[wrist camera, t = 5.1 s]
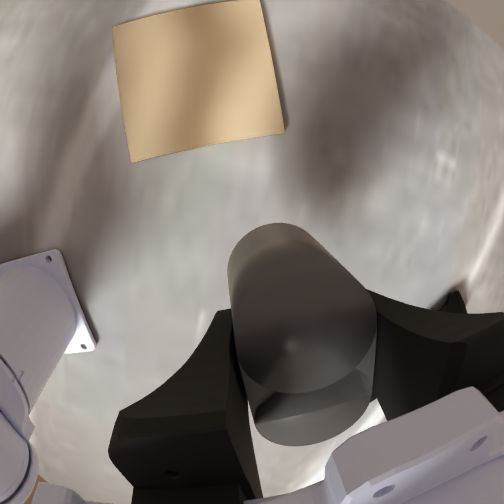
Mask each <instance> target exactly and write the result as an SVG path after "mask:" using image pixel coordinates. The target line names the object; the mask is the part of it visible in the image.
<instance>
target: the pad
mask: <svg viewBox="0 0 504 504" xmlns="http://www.w3.org/2000/svg"><path fill="white" fill-rule="evenodd" d="M112 32H113V43H114V53H115V63H116V71H117V79H118V87H119V94H120V101H121V108H122V114H123V120H124V126H125V132H126V138H127V143H128V149H129V154H130V159H131V163H134V162H137V161H141V160H145V159H149V158H153V157H158V156H162V155H166V154H171V153H175V152H179V151H184V150H189V149H194V148H198V147H203V146H209V145H214V144H219V143H225V142H230V141H236V140H242V139H248V138H255V137H261V136H268V135H275V134H283V133H285V130H284V124H283V118H282V112H281V106H280V100H279V94H278V89H277V83H276V78H275V72H274V67H273V62H272V57H271V52H270V47H269V42H268V37H267V32H266V27H265V22H264V18H263V13H262V9H261V4H260V0H237V1H228V2H220V3H213V4H207V5H200V6H195V7H189V8H184V9H179V10H174V11H169V12H165V13H161V14H157V15H153V16H149V17H145V18H141V19H138V20H134V21H131V22H127V23H124V24H121V25H118V26H114V27H112Z"/></svg>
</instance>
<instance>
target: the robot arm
mask: <svg viewBox="0 0 504 504" xmlns="http://www.w3.org/2000/svg"><path fill="white" fill-rule="evenodd" d="M48 256H50V257H51V258H52V261H50V260H49V258H48ZM366 290H367V289H366ZM367 291H368V292H369V294H370V296H371V297H372V299H373V301H374V304H375V307H376V312H377V336H376V352H375V365H374V376H373V386H372V389H373V391H374V393H375V395H376V397H377V399H378V401H379V404H380V406H381V408H382V410H383V412H384V415H385V417H386V419H387V422H384V423H381V424H379V425H376V426H373V427H370V428H368V429H366V430H364V431H362V432H360V433H358V434H356V435H354V436H352V437H350V438H349V439H347V440H346V441H345V442H344V443H342V444H341V445H340V446H339V447H338V448H336V449H335V450H334V451H333V452H332V454H331V456H330V458H329V460H328V462H327V464H326V466H325V479H324V480H322V481H320V482H317V483H315V484H312V485H310V486H307V487H305V488H302V489H299V490H297V491H294V492H291V493H288V494H283V495H278V496H273V497H267V498H263V495H262V490H261V485H260V480H259V475H258V470H257V464H256V459H255V454H254V448H253V443H252V437H251V431H250V425H249V415H248V397H247V393H246V390H245V386H244V382H243V378H242V374H241V370H240V366H239V362H238V358H237V353H236V346H235V338H234V329H233V320H232V311H231V309H226V310H220V311H217V313H216V314H215V316H214V318H213V320H212V322H211V324H210V326H209V328H208V330H207V332H206V334H205V335H204V337H203V339H202V341H201V342H200V344H199V345H198V347H197V348H196V349H195V351H194V352H193V354H192V355H191V356H190V358H189V359H188V360H187V361H186V363H185V364H184V365H183V366H182V367H181V368H180V369H179V370H178V371H177V372H176V373H175V374H174V375H173V376H172V377H170V378H169V379H168V380H167V381H166V382H165V383H164V384H162V385H161V386H160V387H159V388H157V389H156V390H155V391H153V392H152V393H150V394H149V395H147V396H146V397H144V398H143V399H141V400H139V401H137V402H136V403H134V404H132V405H130V406H128V407H127V408H125V409H123V410H121V411H120V412H119V414H118V417H117V419H116V422H115V425H114V429H113V432H112V436H111V440H110V444H109V448H108V453H109V458H110V459H111V461H112V463H113V464H114V465H115V467H116V468H117V469H118V470H119V471H120V472H121V473H122V475H123V476H124V477H125V478H126V479H127V480H128V481H129V482H130V483H131V485H132V486H133V487H134V488H133V495H132V503H131V504H504V313H503V312H497V313H483V314H462V313H449V312H441V311H435V310H429V309H425V308H420V307H416V306H412V305H408V304H405V303H402V302H399V301H396V300H393V299H390V298H388V297H385V296H382V295H380V294H377V293H375V292H372V291H370V290H367ZM83 344H85V345H86V346H87V347H86V346H84V345H83ZM95 348H96V342H95V339H94V337H93V335H92V333H91V330H90V328H89V326H88V324H87V321H86V319H85V316H84V314H83V311H82V309H81V307H80V304H79V301H78V299H77V296H76V294H75V291H74V288H73V286H72V283H71V280H70V277H69V274H68V271H67V269H66V266H65V263H64V260H63V256H62V254H61V252H60V251H59V250H57V249H53V250H49V251H45V252H42V253H38V254H34V255H30V256H27V257H23V258H19V259H16V260H12V261H9V262H5V263H2V264H0V504H23V503H24V502H25V501H26V500H27V498H28V497H29V496H30V494H31V492H32V490H33V488H34V485H35V483H36V479H37V476H38V469H39V461H38V456H37V453H36V450H35V448H34V447H33V445H32V444H31V443H30V442H29V439H30V437H31V435H32V433H33V431H34V428H35V426H34V425H33V423H32V422H31V420H30V418H29V414H30V412H31V410H32V408H33V406H34V404H35V403H36V401H37V399H38V397H39V395H40V393H41V392H42V390H43V388H44V386H45V385H46V383H47V381H48V379H49V377H50V376H51V374H52V372H53V371H54V369H55V367H56V366H57V364H58V362H59V360H60V359H61V357H62V355H63V354H66V353H78V352H88V351H94V350H95ZM31 504H111V503H102V502H93V501H86V500H83V498H82V497H81V496H80V495H79V494H78V493H77V492H75V491H74V490H72V489H70V488H68V487H65V486H61V485H55V484H50V483H44V482H39V483H38V485H37V488H36V491H35V494H34V497H33V500H32V503H31Z"/></svg>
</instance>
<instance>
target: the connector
mask: <svg viewBox="0 0 504 504" xmlns="http://www.w3.org/2000/svg"><path fill="white" fill-rule="evenodd" d="M228 284H229V293H230V302H231V311H232V320H233V329H234V338H235V346H236V353H237V358H238V362H239V366H240V370H241V374H242V378H243V382H244V386H245V390H246V393H247V397H248V401H249V405H250V409H251V412H252V416H253V420H254V424H255V426H256V429H257V430H258V432H259V433H260V434H261V435H262V436H263V437H264V438H266V439H267V440H269V441H271V442H273V443H276V444H280V445H285V446H305V445H311V444H316V443H319V442H323V441H325V440H328V439H331V438H333V437H335V436H337V435H339V434H340V433H342V432H344V431H345V430H347V429H348V428H349V427H351V426H352V425H353V424H354V423H355V422H356V421H357V420H358V419H359V418H360V417H361V416H362V415H363V413H364V412H365V410H366V409H367V407H368V405H369V402H370V400H371V395H372V386H373V376H374V365H375V352H376V336H377V312H376V307H375V304H374V301H373V299H372V297H371V296H370V294H369V292H368V291H367V290H366V289H365V288H364V287H363V285H362V284H361V283H360V282H359V281H358V280H357V279H356V278H354V277H353V276H352V275H351V274H350V273H349V272H348V271H347V270H346V269H345V268H344V267H343V266H342V265H341V264H340V263H339V262H338V261H337V260H336V259H335V258H334V257H333V256H332V255H331V254H330V253H329V252H328V251H327V250H326V249H325V248H324V247H323V246H322V245H321V244H320V243H319V242H318V241H317V240H315V239H314V238H313V237H312V236H311V235H310V234H309V233H308V232H306V231H305V230H303V229H302V228H300V227H297V226H295V225H291V224H286V223H272V224H267V225H263V226H260V227H258V228H256V229H254V230H252V231H250V232H249V233H248V234H246V235H245V236H244V237H243V238H242V239H241V240H240V241H239V242H238V244H237V245H236V246H235V248H234V250H233V251H232V254H231V256H230V259H229V262H228Z"/></svg>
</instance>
